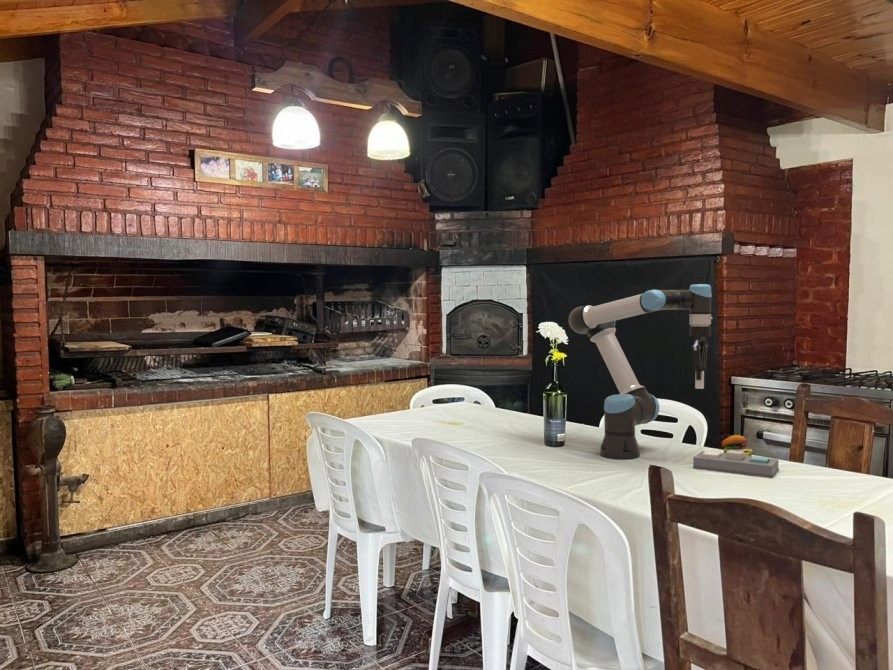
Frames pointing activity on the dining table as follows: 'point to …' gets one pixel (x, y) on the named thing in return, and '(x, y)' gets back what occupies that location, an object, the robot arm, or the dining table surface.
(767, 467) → the keypad base
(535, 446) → the dining table surface
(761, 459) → the key teal
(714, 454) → the key ivory
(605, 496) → the dining table surface
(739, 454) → the key grey
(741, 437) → the cheeseburger
